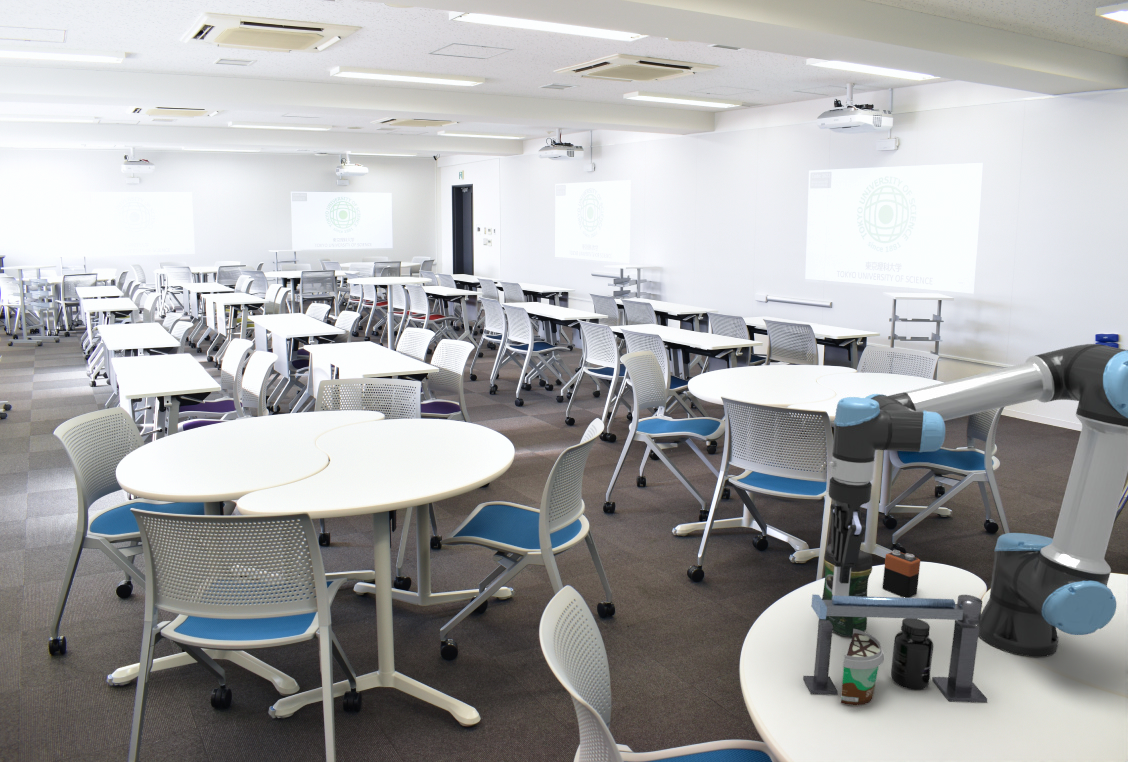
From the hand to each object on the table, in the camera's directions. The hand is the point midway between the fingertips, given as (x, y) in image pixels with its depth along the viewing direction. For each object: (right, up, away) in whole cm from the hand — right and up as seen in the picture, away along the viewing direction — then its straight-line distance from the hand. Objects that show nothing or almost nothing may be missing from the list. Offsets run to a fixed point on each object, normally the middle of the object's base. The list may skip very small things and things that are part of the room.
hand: (840, 595), depth 153 cm
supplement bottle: (+13, -16, -2) cm, 21 cm away
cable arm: (+8, -2, -8) cm, 11 cm away
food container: (+2, -17, -7) cm, 18 cm away
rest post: (-5, -16, -5) cm, 17 cm away
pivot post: (+21, -17, -5) cm, 27 cm away
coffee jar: (+7, -12, +19) cm, 23 cm away
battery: (+27, -9, +37) cm, 47 cm away
